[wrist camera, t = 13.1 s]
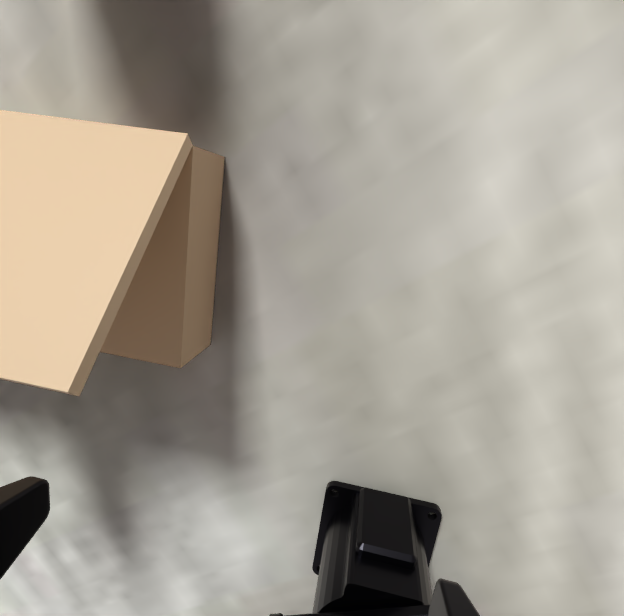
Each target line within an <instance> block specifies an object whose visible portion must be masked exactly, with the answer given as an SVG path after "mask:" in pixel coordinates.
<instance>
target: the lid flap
mask: <svg viewBox="0 0 624 616" xmlns="http://www.w3.org/2000/svg"><path fill="white" fill-rule="evenodd" d="M192 146H193V145H192V143H191V140H190V138H189V135H188V134H187V133H179V132H171V131H163V130H155V129H147V128H139V127H131V126H123V125H115V124H107V123H99V122H91V121H84V120H76V119H68V118H60V117H52V116H44V115H36V114H28V113H20V112H12V111H4V110H0V379H2V380H6V381H11V382H15V383H20V384H25V385H29V386H34V387H38V388H43V389H47V390H52V391H56V392H61V393H66V394H70V395H75V396H79V397H80V394H81V392H82V390H83V388H84V385H85V383H86V381H87V379H88V377H89V374H90V372H91V370H92V368H93V366H94V363H95V361H96V359H97V357H98V354H99V352H100V350H101V348H102V346H103V343H104V341H105V339H106V337H107V334H108V332H109V330H110V328H111V326H112V323H113V321H114V319H115V317H116V314H117V312H118V310H119V308H120V306H121V303H122V301H123V299H124V297H125V294H126V292H127V290H128V288H129V286H130V283H131V281H132V279H133V277H134V274H135V272H136V270H137V268H138V266H139V263H140V261H141V259H142V257H143V255H144V252H145V250H146V248H147V246H148V243H149V241H150V239H151V237H152V235H153V232H154V230H155V228H156V226H157V223H158V221H159V219H160V217H161V215H162V212H163V210H164V208H165V206H166V203H167V201H168V199H169V197H170V195H171V192H172V190H173V188H174V186H175V183H176V181H177V179H178V177H179V175H180V172H181V170H182V168H183V166H184V164H185V161H186V159H187V157H188V155H189V152H190V150H191V148H192Z"/></svg>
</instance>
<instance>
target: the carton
mask: <svg viewBox="0 0 624 616" xmlns="http://www.w3.org/2000/svg"><path fill="white" fill-rule="evenodd" d="M224 160H225V157H223V156H220V155H217V154H215V153H212V152H209V151H206V150H204V149H201V148H198V147H195V146H192V148H191V150H190V152H189V155H188V157H187V159H186V161H185V164H184V166H183V168H182V170H181V172H180V175H179V177H178V179H177V181H176V183H175V186H174V188H173V190H172V192H171V195H170V197H169V199H168V201H167V203H166V206H165V208H164V210H163V212H162V215H161V217H160V219H159V221H158V223H157V226H156V228H155V230H154V232H153V235H152V237H151V239H150V241H149V243H148V246H147V248H146V250H145V252H144V255H143V257H142V259H141V261H140V263H139V266H138V268H137V270H136V272H135V274H134V277H133V279H132V281H131V283H130V286H129V288H128V290H127V292H126V294H125V297H124V299H123V301H122V303H121V306H120V308H119V310H118V312H117V314H116V317H115V319H114V321H113V323H112V326H111V328H110V330H109V332H108V334H107V337H106V339H105V341H104V343H103V346H102V348H101V350H100V352H103V353H108V354H113V355H118V356H123V357H128V358H133V359H137V360H142V361H147V362H152V363H157V364H162V365H167V366H172V367H177V368H182V367H183V366H184V365H186V364H187V363H188V362H189V361H191V360H192V359H193V358H194V357H196V356H197V355H198V354H199V353H201V352H202V351H203V350H204V349H206V348H207V347H208V346H209V345H211V333H212V319H213V306H214V293H215V280H216V266H217V253H218V240H219V227H220V213H221V200H222V187H223V174H224Z"/></svg>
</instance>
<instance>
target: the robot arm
mask: <svg viewBox="0 0 624 616" xmlns="http://www.w3.org/2000/svg"><path fill="white" fill-rule="evenodd" d="M332 489H335V490H337V491H338V492H333V491H332ZM49 511H50V495H49V483H48V482H47V480H45V479H41V478H37V477H27V478H24V479H21V480H18V481H16V482H13V483H10V484H8V485H5V486H2V487H0V579H1V578H2V577H3V575H4V574H5V573H6V571H7V570H8V569H9V567H10V566H11V565H12V563H13V562H14V561H15V560H16V558H17V557H18V556H19V554H20V553H21V552H22V550H23V549H24V548H25V546H26V545H27V544H28V542H29V541H30V540H31V538H32V537H33V536H34V534H35V533H36V532H37V531H38V529H39V528H40V527H41V525H42V524H43V523H44V521H45V520H46V518H47V516H48V514H49ZM430 512H434V513H435V514H428V513H430ZM441 517H442V515H441V510H440V508H439V506H438V505H436V504H434V503H430V502H425V501H421V500H417V499H412V498H408V497H404V496H400V495H395V494H391V493H387V492H382V491H378V490H373V489H369V488H364V487H360V486H355V485H351V484H347V483H342V482H338V481H331V482H329V483H328V484H327V487H326V493H325V498H324V504H323V510H322V516H321V521H320V527H319V533H318V539H317V545H316V550H315V556H314V562H313V571H314V573H316V574H317V575H319V576H318V582H317V588H316V594H315V601H314V607H313V613H312V614H299V615H287V616H480V615H479V613H478V612H477V610H476V609H475V607H474V606H473V604H472V603H471V601H470V600H469V598H468V597H467V595H466V593H465V592H464V590H463V589H462V587H461V586H460V585H459V584H458V583H456V582H452V581H448V580H444V579H439V580H438V581H437V582H436V585H435V589H434V592H433V596H432V593H431V586H430V579H429V572H428V566H429V563H430V559H431V555H432V551H433V548H434V544H435V540H436V537H437V533H438V529H439V525H440V522H441ZM269 616H283V615H282V614H281V613H279V614H270V615H269Z"/></svg>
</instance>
